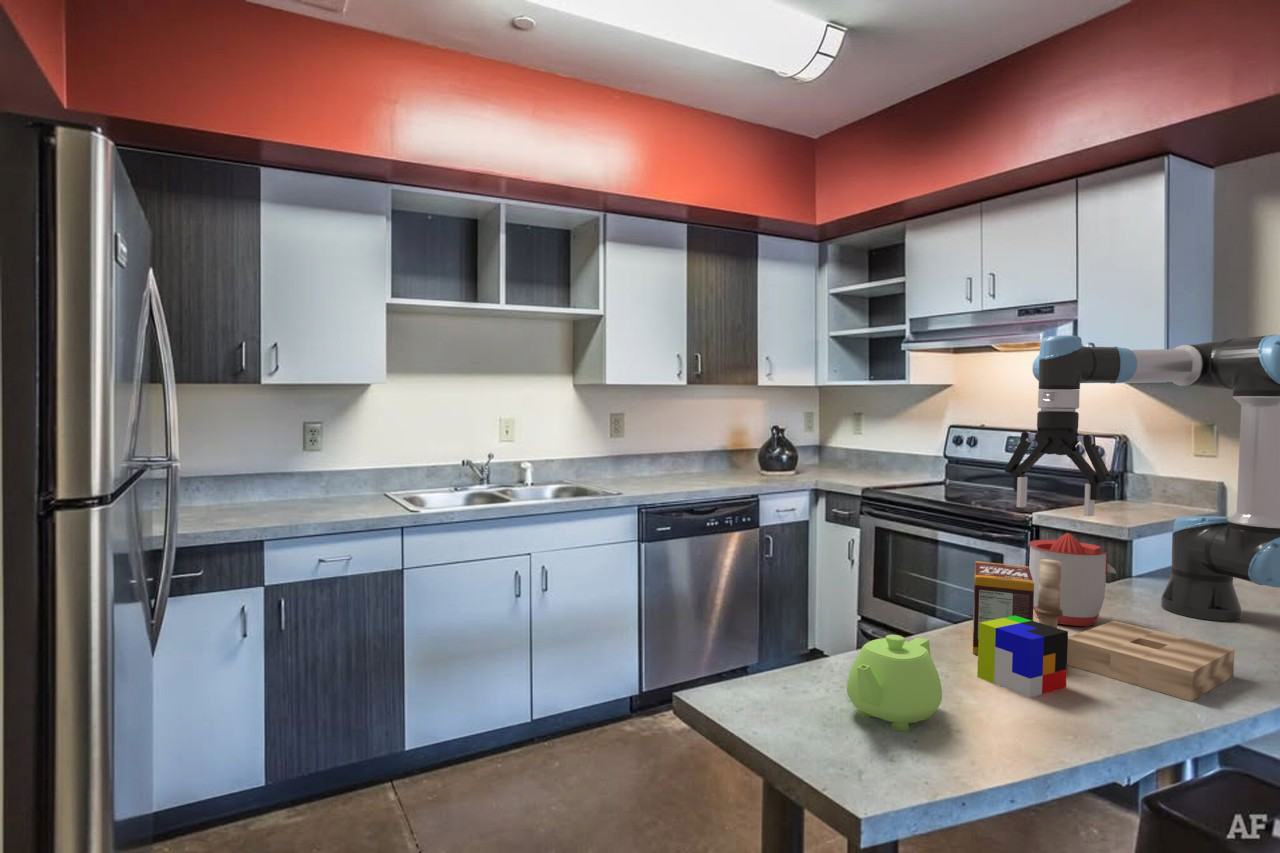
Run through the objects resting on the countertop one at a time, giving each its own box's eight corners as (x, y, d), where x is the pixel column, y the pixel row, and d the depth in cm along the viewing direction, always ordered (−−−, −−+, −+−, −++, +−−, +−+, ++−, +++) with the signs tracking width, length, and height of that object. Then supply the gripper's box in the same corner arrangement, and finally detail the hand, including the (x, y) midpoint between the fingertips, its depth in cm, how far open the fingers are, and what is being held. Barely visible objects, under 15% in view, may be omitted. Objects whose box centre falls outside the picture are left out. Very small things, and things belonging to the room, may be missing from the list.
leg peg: (1041, 630, 157) (1043, 557, 156) (1066, 637, 152) (1069, 562, 152) (1028, 634, 154) (1031, 560, 153) (1054, 641, 149) (1057, 565, 149)
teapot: (898, 751, 102) (900, 664, 101) (819, 718, 112) (820, 638, 112) (964, 713, 115) (967, 635, 114) (887, 686, 125) (890, 614, 125)
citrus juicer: (1123, 635, 154) (1127, 542, 153) (1032, 625, 160) (1035, 536, 159) (1104, 614, 169) (1107, 530, 168) (1021, 606, 175) (1024, 524, 174)
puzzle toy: (1029, 698, 121) (1031, 639, 121) (977, 677, 130) (979, 622, 130) (1065, 687, 126) (1068, 631, 125) (1013, 668, 135) (1015, 615, 134)
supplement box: (1026, 639, 151) (1029, 565, 150) (1032, 663, 137) (1035, 582, 136) (972, 631, 155) (974, 560, 155) (972, 654, 141) (974, 576, 141)
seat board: (1112, 644, 148) (1113, 620, 148) (1233, 676, 132) (1234, 649, 132) (1064, 663, 137) (1065, 637, 137) (1190, 701, 120) (1192, 671, 120)
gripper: (990, 408, 159) (987, 504, 160) (1116, 411, 138) (1111, 521, 139) (1008, 408, 163) (1004, 502, 164) (1133, 411, 143) (1128, 518, 144)
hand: (1054, 511), depth 152 cm, fingers open, 13 cm apart
